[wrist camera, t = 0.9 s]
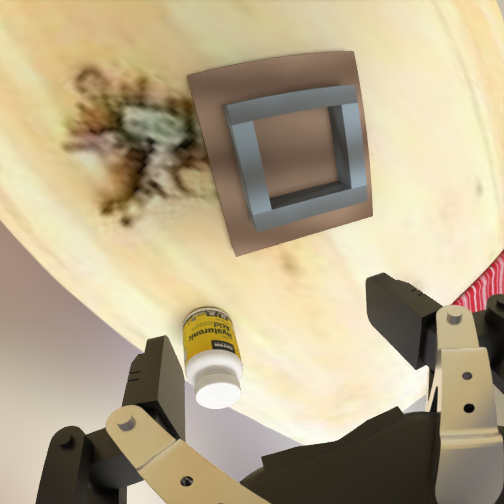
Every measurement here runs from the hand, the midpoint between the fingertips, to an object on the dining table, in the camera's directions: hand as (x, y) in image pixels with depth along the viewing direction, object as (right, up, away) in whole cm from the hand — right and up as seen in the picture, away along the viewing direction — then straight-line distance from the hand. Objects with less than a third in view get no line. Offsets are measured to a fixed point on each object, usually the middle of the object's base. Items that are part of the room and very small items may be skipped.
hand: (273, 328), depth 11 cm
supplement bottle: (-6, -5, +21) cm, 23 cm away
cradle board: (+2, +12, +14) cm, 19 cm away
